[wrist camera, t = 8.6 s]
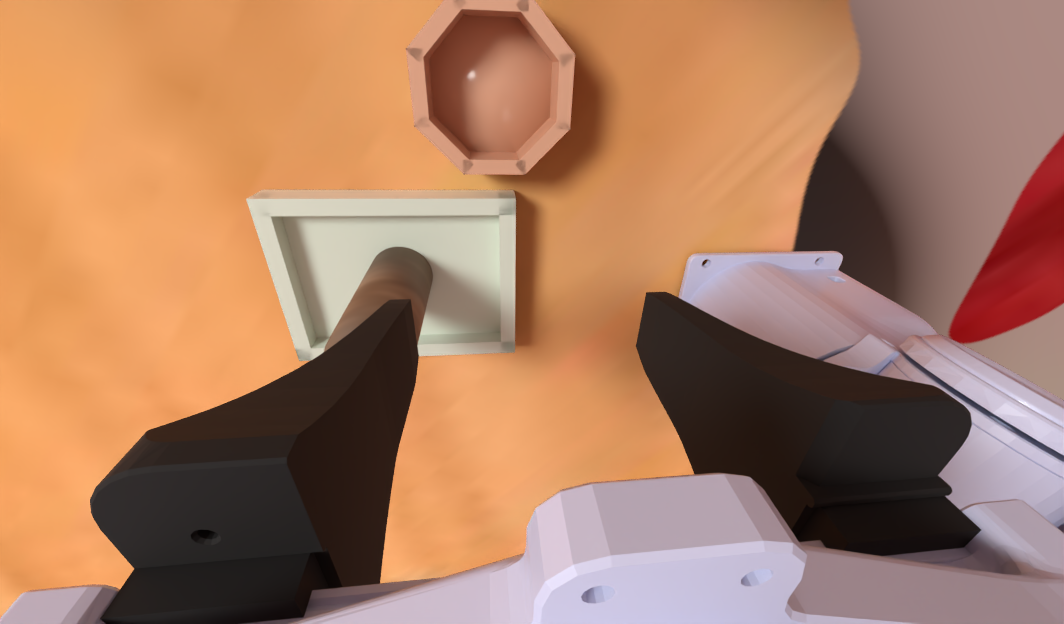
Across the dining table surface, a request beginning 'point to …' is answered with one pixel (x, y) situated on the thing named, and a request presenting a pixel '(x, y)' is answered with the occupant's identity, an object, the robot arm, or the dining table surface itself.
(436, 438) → the dining table surface
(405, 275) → the peg
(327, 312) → the tray
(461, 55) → the holder
